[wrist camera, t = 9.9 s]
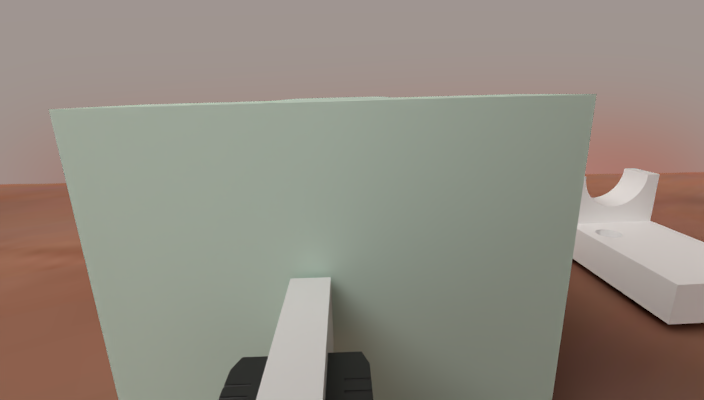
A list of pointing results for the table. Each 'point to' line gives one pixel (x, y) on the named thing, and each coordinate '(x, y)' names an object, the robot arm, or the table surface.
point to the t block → (332, 235)
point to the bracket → (641, 250)
